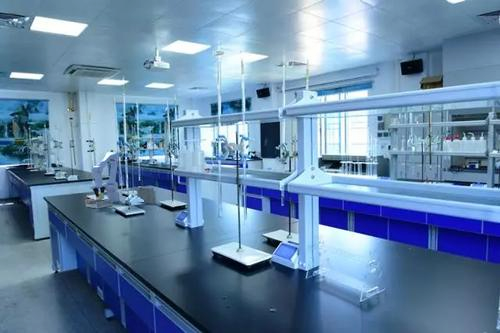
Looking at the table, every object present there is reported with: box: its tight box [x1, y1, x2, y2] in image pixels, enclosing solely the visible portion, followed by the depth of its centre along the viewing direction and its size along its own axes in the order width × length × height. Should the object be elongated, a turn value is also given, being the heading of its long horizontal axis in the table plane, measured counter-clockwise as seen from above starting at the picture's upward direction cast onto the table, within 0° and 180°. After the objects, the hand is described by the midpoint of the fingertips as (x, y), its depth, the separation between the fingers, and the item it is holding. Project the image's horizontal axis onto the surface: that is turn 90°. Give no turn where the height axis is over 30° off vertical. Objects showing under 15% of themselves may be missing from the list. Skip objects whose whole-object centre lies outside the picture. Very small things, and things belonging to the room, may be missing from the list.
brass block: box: [95, 191, 105, 200], centre depth 287 cm, size 4×5×5 cm
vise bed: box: [85, 199, 114, 209], centre depth 288 cm, size 14×16×5 cm
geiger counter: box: [134, 185, 157, 205], centre depth 298 cm, size 14×6×25 cm
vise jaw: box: [84, 198, 103, 204], centre depth 293 cm, size 12×9×3 cm
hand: (99, 196), depth 287 cm, fingers closed on brass block, 4 cm apart
